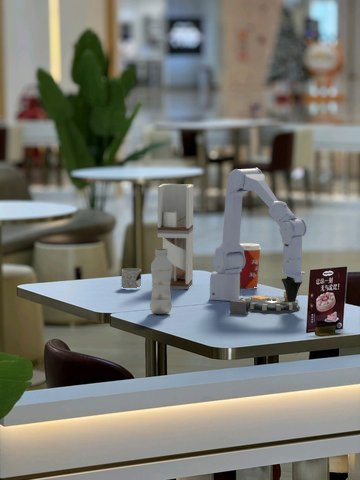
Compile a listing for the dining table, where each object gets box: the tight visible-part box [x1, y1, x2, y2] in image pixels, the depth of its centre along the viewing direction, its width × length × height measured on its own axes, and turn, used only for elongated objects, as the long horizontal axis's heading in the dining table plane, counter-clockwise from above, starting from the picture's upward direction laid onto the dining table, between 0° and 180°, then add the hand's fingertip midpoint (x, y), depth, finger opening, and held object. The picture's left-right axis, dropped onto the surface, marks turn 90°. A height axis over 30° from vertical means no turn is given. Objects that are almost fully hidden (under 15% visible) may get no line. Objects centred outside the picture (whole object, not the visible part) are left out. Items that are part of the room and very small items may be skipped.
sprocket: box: [244, 291, 299, 311], centre depth 387 cm, size 17×17×5 cm
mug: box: [121, 267, 142, 288], centre depth 421 cm, size 10×7×7 cm
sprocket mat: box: [248, 305, 301, 315], centre depth 387 cm, size 19×18×1 cm
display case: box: [157, 183, 195, 290], centre depth 422 cm, size 11×11×35 cm
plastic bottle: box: [149, 247, 173, 315], centre depth 374 cm, size 6×7×20 cm
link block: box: [229, 299, 249, 316], centre depth 378 cm, size 5×3×4 cm, turn 71°
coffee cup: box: [239, 242, 262, 290], centre depth 423 cm, size 8×8×15 cm
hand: (291, 301), depth 380 cm, fingers closed
